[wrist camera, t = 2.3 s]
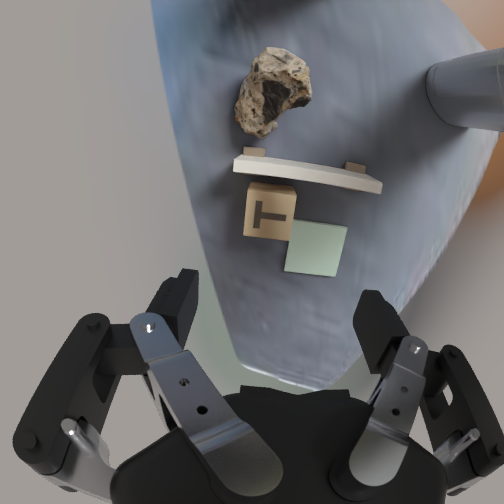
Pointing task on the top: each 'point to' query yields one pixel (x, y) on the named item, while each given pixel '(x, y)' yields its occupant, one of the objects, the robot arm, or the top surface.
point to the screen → (306, 171)
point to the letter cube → (269, 211)
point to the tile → (314, 248)
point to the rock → (272, 90)
